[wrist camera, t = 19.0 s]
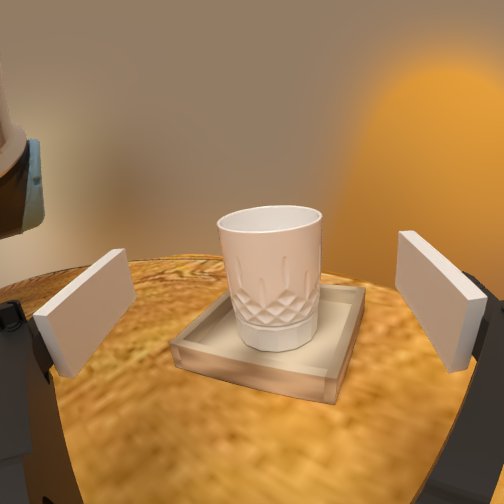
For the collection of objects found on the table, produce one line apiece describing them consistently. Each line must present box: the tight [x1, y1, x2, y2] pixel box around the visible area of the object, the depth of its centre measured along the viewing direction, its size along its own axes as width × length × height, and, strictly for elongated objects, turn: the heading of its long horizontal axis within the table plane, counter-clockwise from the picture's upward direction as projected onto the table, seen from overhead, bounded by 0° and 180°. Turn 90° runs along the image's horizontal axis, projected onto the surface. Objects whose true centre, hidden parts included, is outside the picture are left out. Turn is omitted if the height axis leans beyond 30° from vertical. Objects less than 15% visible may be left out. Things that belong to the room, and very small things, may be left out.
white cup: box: [217, 205, 322, 352], centre depth 26 cm, size 8×8×10 cm
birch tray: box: [169, 284, 366, 405], centre depth 28 cm, size 13×13×2 cm
